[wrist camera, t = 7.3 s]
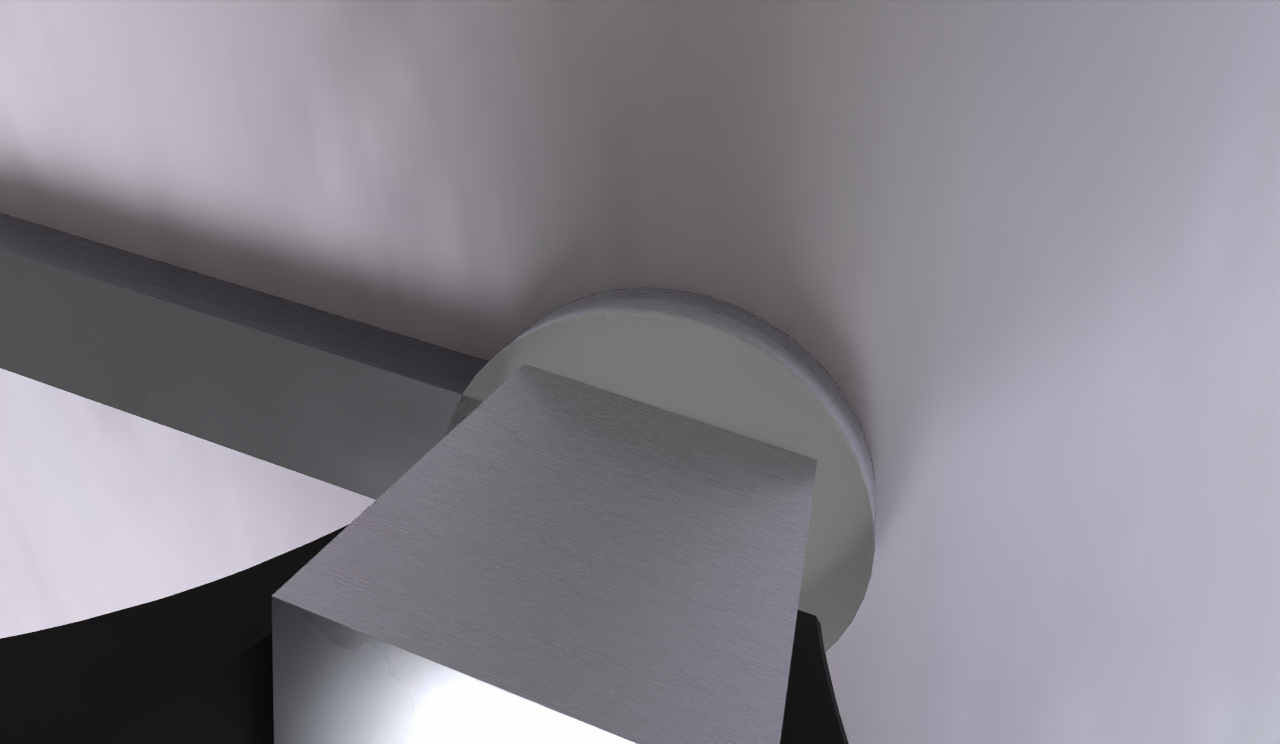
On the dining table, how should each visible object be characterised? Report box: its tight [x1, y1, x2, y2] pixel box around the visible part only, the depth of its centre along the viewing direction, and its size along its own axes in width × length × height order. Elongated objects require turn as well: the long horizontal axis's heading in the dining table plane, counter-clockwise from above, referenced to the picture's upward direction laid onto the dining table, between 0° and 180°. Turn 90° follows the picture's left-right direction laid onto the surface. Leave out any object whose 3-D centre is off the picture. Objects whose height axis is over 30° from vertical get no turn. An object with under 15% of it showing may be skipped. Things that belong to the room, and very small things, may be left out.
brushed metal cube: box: [272, 364, 817, 744], centre depth 11 cm, size 5×5×6 cm
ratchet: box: [0, 213, 875, 652], centre depth 14 cm, size 8×21×5 cm, turn 80°
